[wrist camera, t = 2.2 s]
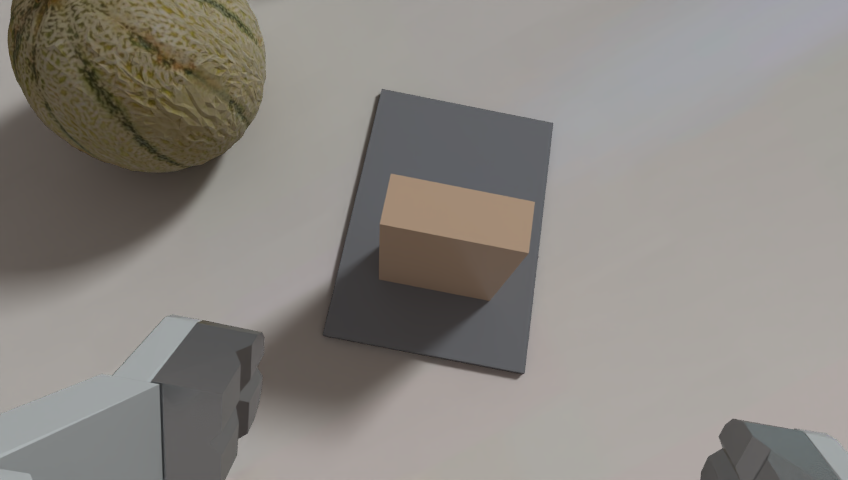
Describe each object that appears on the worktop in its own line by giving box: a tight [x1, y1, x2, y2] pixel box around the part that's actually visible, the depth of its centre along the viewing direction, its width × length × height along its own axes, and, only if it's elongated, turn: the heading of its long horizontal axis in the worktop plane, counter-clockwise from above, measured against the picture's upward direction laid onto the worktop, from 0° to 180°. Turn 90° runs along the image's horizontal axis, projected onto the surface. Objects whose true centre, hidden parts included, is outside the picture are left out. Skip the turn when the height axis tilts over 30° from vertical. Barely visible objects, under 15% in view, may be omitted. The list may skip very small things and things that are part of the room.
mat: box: [323, 89, 553, 374], centre depth 42 cm, size 20×14×1 cm
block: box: [379, 174, 535, 301], centre depth 36 cm, size 3×8×11 cm, turn 80°
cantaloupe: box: [8, 0, 266, 173], centre depth 37 cm, size 15×15×15 cm
